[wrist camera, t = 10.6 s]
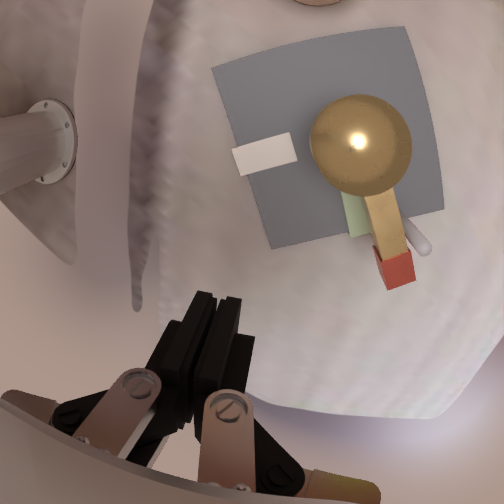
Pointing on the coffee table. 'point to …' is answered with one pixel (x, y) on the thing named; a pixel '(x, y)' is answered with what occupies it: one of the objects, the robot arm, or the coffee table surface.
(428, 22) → the coffee table surface
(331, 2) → the teacup with lid
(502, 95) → the coffee table surface
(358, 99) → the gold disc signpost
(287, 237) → the plate
